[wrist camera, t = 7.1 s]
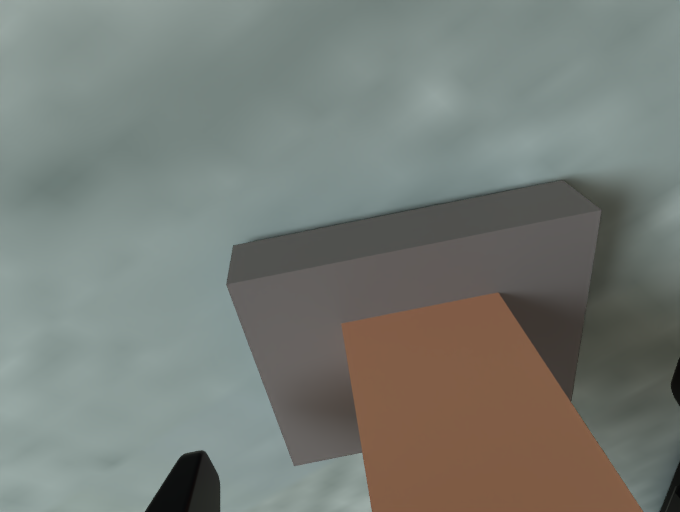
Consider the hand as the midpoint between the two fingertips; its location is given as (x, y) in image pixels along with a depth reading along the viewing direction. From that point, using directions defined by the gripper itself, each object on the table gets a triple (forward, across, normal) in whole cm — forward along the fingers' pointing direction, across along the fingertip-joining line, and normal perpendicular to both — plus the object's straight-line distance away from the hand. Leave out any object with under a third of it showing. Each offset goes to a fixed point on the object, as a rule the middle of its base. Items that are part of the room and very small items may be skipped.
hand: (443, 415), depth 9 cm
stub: (+3, 0, 0) cm, 3 cm away
